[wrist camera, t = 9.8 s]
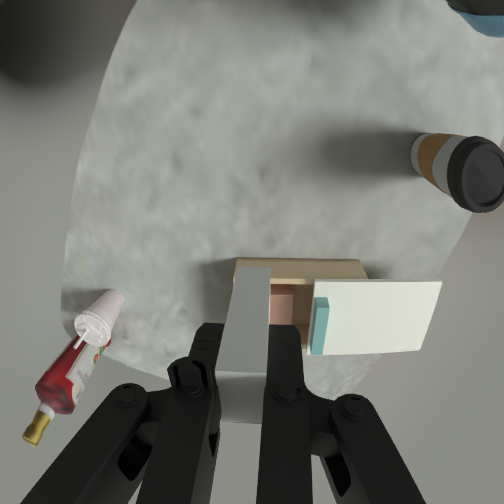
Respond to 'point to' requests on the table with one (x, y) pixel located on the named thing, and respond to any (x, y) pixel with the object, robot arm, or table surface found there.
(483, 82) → the table surface
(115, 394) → the robot arm
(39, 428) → the liquor
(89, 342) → the smoothie
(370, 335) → the lid
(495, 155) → the coffee cup
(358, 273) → the box
